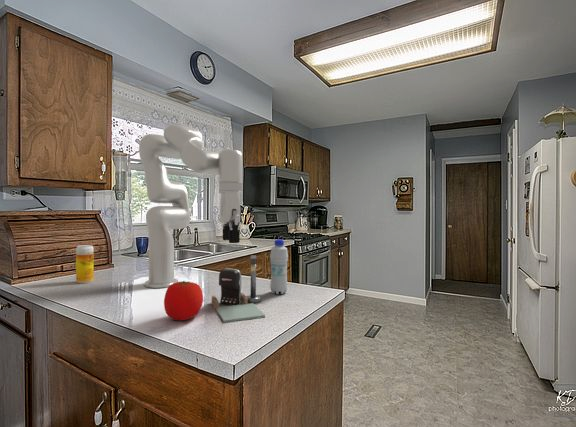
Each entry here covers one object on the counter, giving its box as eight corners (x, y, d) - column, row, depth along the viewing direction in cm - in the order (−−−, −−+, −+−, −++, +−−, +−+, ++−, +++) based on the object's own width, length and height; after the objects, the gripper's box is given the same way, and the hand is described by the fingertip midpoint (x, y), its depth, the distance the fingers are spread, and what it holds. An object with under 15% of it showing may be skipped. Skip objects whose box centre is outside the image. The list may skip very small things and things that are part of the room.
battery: (217, 304, 103) (217, 269, 102) (223, 301, 106) (223, 267, 106) (235, 307, 100) (236, 271, 100) (241, 303, 104) (242, 269, 103)
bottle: (285, 295, 113) (286, 240, 113) (267, 294, 115) (268, 239, 114) (289, 291, 120) (290, 238, 119) (272, 289, 121) (272, 238, 121)
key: (249, 306, 96) (250, 262, 96) (250, 294, 110) (250, 255, 109) (255, 306, 96) (256, 262, 96) (255, 293, 110) (256, 255, 109)
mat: (215, 309, 98) (215, 307, 98) (253, 304, 103) (253, 303, 103) (223, 322, 87) (223, 320, 87) (265, 317, 92) (265, 315, 92)
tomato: (169, 312, 95) (169, 276, 95) (205, 311, 96) (205, 276, 95) (158, 325, 84) (158, 285, 84) (198, 325, 85) (198, 285, 85)
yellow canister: (87, 283, 127) (87, 246, 127) (72, 283, 127) (72, 246, 127) (96, 280, 133) (96, 244, 133) (82, 280, 133) (82, 244, 133)
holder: (211, 302, 104) (211, 295, 104) (242, 299, 108) (242, 292, 108) (215, 309, 98) (215, 301, 98) (247, 305, 102) (247, 298, 102)
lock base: (243, 300, 108) (243, 295, 108) (257, 298, 109) (257, 294, 109) (247, 304, 103) (247, 300, 103) (262, 302, 105) (262, 298, 105)
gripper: (214, 189, 109) (214, 239, 109) (224, 186, 93) (224, 244, 93) (235, 190, 112) (235, 238, 112) (249, 187, 96) (249, 243, 96)
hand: (230, 241), depth 102 cm, fingers open, 9 cm apart
